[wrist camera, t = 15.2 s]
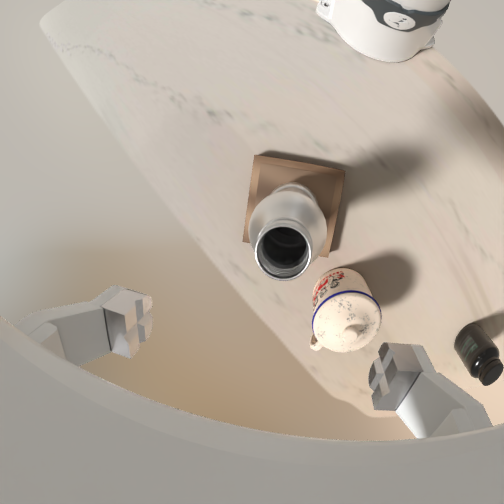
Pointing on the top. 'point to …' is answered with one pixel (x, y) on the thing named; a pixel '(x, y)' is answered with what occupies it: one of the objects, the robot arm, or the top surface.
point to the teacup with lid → (343, 312)
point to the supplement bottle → (478, 354)
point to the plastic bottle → (287, 231)
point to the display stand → (283, 171)
